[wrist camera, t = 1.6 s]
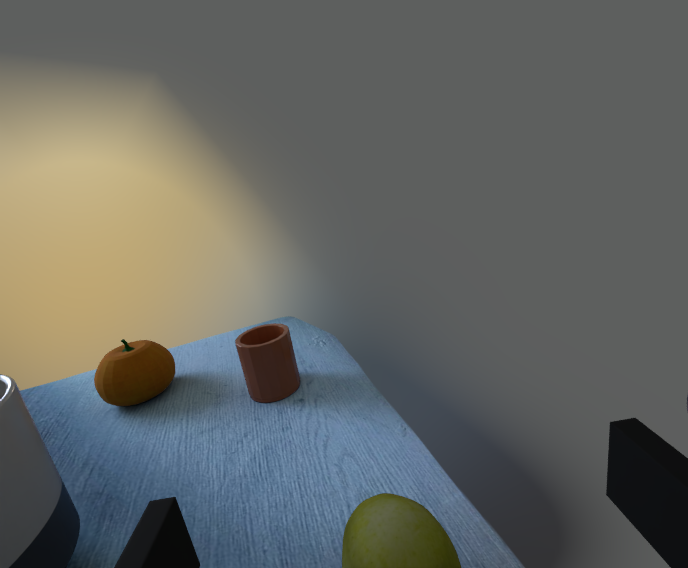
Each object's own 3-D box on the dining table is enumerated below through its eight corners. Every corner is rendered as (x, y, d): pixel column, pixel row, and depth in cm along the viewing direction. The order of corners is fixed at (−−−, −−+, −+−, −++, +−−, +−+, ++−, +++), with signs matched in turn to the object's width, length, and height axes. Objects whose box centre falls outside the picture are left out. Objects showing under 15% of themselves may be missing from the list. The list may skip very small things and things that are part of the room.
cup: (295, 368, 62) (284, 319, 59) (304, 392, 55) (292, 337, 52) (248, 383, 60) (234, 332, 57) (251, 409, 53) (236, 352, 50)
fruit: (93, 424, 56) (68, 365, 53) (116, 386, 67) (96, 335, 64) (175, 401, 58) (155, 343, 56) (184, 367, 69) (168, 318, 66)
